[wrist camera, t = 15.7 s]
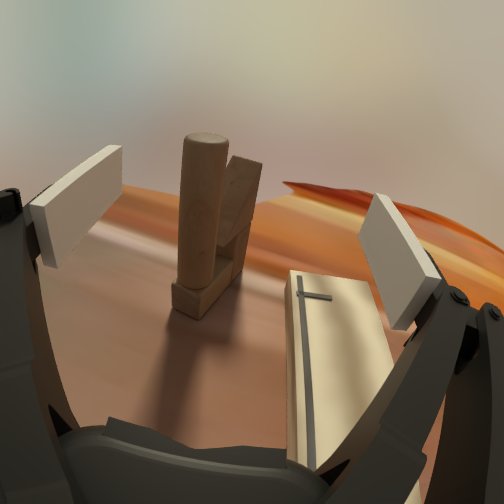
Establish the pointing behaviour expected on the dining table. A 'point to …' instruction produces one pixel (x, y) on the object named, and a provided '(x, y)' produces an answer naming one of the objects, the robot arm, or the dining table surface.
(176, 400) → the dining table surface
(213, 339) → the dining table surface
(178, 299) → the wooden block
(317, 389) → the maple board
